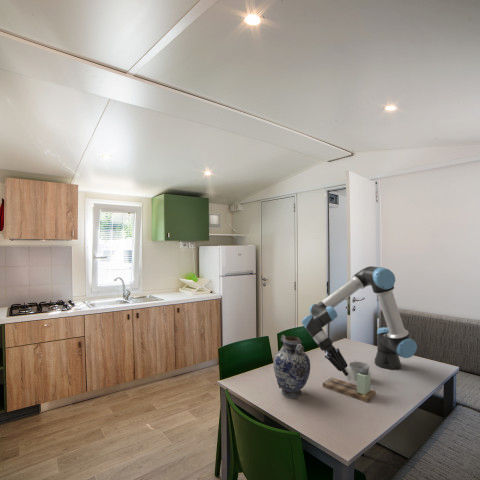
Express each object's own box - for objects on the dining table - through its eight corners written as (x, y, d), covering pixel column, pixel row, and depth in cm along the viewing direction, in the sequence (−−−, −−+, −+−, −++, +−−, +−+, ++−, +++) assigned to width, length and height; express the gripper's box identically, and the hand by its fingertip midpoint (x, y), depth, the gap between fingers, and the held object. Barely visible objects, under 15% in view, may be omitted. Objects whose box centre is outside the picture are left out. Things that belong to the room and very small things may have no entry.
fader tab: (356, 392, 156) (356, 370, 156) (362, 387, 161) (362, 366, 161) (365, 395, 153) (365, 373, 153) (370, 390, 158) (370, 369, 158)
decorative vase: (265, 386, 167) (266, 334, 167) (296, 382, 174) (297, 331, 174) (285, 406, 147) (286, 346, 147) (319, 400, 154) (319, 342, 154)
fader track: (322, 386, 167) (322, 382, 167) (331, 380, 175) (331, 377, 175) (367, 402, 151) (367, 398, 151) (375, 395, 158) (375, 391, 158)
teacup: (371, 383, 171) (371, 369, 171) (350, 382, 173) (350, 367, 174) (366, 373, 185) (366, 359, 185) (347, 371, 187) (346, 358, 187)
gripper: (324, 342, 179) (353, 380, 168) (312, 347, 170) (342, 388, 158) (333, 334, 176) (362, 372, 164) (321, 339, 166) (352, 380, 155)
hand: (352, 380), depth 161 cm, fingers closed
